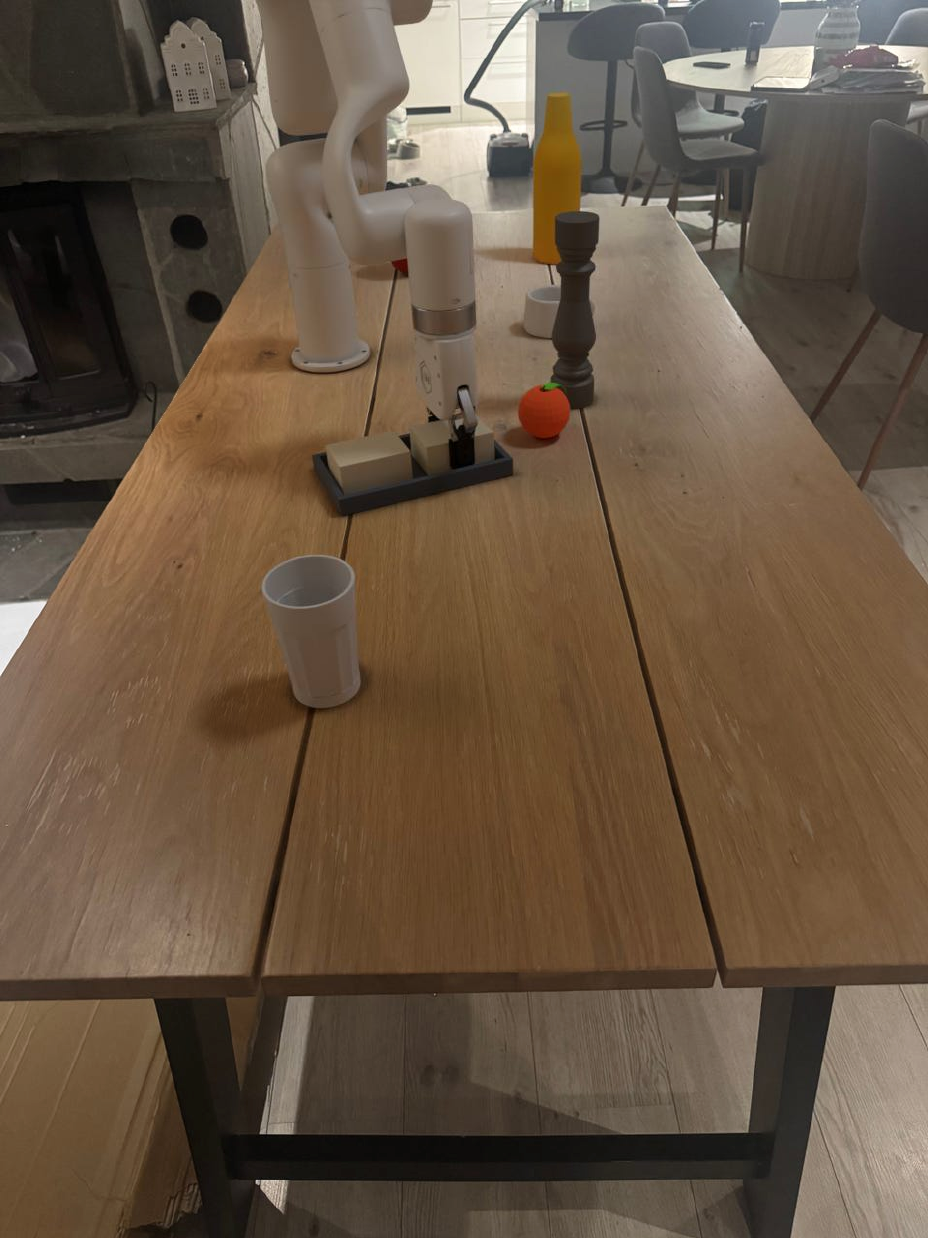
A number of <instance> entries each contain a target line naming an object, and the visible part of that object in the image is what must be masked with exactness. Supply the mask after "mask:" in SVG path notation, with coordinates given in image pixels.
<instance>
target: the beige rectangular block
mask: <svg viewBox="0 0 928 1238" xmlns="http://www.w3.org/2000/svg"><path fill="white" fill-rule="evenodd" d="M476 417H477V420H478V425H477V427H476V429H475V437H474V447H475V464H480V463H484V462H488V461H492V460H494V440H495V433H494V430H492V429H491V428H490V427H489V425H487V424H486V423H485V421H484V420H482V419H481V418H480V417H479V415H477V414H476ZM462 422H463V418H461V419H457V420H455V423H456V428H457V429H458V427H459V425H462V424H463V423H462ZM408 428H409V433H410V440H411V452H412V456H413V457H414V458H415V459H416V461H417V462H418V463H419V464H420V466H421V467H422V468H423V469H424V471H425V472H426V473H427V474H428V476H429V475H433V474H437V473H441V472H446V471H450V470H454V469H452V468H451V467H450V457H449V440H448V439H452V438H451V434H450V429H449V424H448V419H447V420H446V421H442V420H438V421H434V422H429V423H428V422H425V423H420V424H416V425H411V426H409V427H408ZM475 464H474V465H475ZM462 468H463V467H462Z"/></svg>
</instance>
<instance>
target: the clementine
mask: <svg viewBox="0 0 928 1238" xmlns="http://www.w3.org/2000/svg"><path fill="white" fill-rule="evenodd" d="M559 385H560V384H557V383H551V382H548V383H544V384H538V385H535V386H533V387H531V388H530V389H528V390H527V391H526V392H525V393H524V395H523V396H522V397H521V399H520V401H519V404H518V409H517V414H518V421H519V422H520V424H521V427H522V428H523V429H524V431H526V432H527V434H529V435H531V436H533V437H535V438H539V439H549V438H553V437H554V436H556V435H558V434H559V433H562V431H563V430H564V429H565V428H566V426H567V424H568V422H569V420H570V416H571V409H570V404H569V402H568V400H567V397H566V396H565V394H564V393H563V392H562V391H561V390H559V389H558V388H556V386H559ZM561 386H562V385H561ZM562 387H563V388H564V390H565V392H566V388H565V387H564V386H562ZM566 394H567V392H566Z"/></svg>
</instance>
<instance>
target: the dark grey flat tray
mask: <svg viewBox="0 0 928 1238" xmlns="http://www.w3.org/2000/svg"><path fill="white" fill-rule="evenodd" d="M398 436H399V438H400V439H401V440H402V441H403V443H404V444H405V445H406V446H407V448H408V449H409V450H410V452H411V440H410V432H409V433H405V434H402V435H401V434H400V435H398ZM311 458H312V465H313V471H314V473H315V474H316V476H317V478H318V479H319V481H320V483H321V484H322V487H323V488H324V489H325V491H326V493H327V494H328V497H329V498H330V500H331V501H332V503H333V505H334V506H335V508H336V510H337V511H338V513H339V515H340V516H341V517H344V516H348V515H352V514H358V513H361V512H365V511H369V510H373V509H377V508H381V507H385V506H390V505H394V504H398V503H402V502H403V503H404V502H407V501H409V500H416V499H420V498H424V497H428V496H431V495H436V494H440V493H443V492H447V491H452V490H456V489H459V488H460V489H461V488H465V487H468V486H472V485H477V484H481V483H485V482H488V481H493V480H497V479H501V478H506V477H510V476H513V475H514V458H513V456H511V455H510V454H509V452H507V451H506V450H505V449H504V448H503V446H501V445H500V444H499V443H498V441H496V439H494V460H492V461H488V462H484V463H480V464H475V465H471V466H467V467H463V468H458V469H454V470H450V471H446V472H441V473H437V474H433V475H429V476H428V474H427V473H426V472H425V471H424V469H423V468H422V467H421V466H420V464H419V463H418V462H417V461H416V459H415V458H414V457H413V456H412V452H411V464H412V475H413V479H412V480H407V481H403V482H399V483H395V484H390V485H386V486H382V487H378V488H373V489H369V490H365V491H361V492H356V493H352V494H348V495H344V496H343V494H342V492H341V491H340V489H339V487H338V486H337V484H336V483H335V481H334V479H333V478H332V476H331V474H330V472H329V465H328V459H327V452H326V451H323V452H319V453H314V454H312V455H311Z"/></svg>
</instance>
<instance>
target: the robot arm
mask: <svg viewBox="0 0 928 1238" xmlns="http://www.w3.org/2000/svg"><path fill="white" fill-rule="evenodd" d="M254 1H255V4H256V6H257V9H258V12H259V16H260V21H261V27H262V38H263V47H264V55H265V56H264V58H265V66H266V67H265V69H266V77H267V87H268V97H269V103H270V109H271V114H272V118H273V121H274V122H275V125H276V126H277V128H278V129H279V130H280V131H282V133H285V134H287V135H289V136H296V137H297V136H298V137H299V136H313V135H319V134H320V135H321V134H327V135H326V137H325V138H323V137H322V138H315V139H314V138H313V139H308V140H301V141H296V142H291V143H287V144H284V145H282V146H279V147H277V148H276V149H275V150H273V151H272V152H271V154H270V155H269V156H268V158H267V161H266V164H265V177H266V183H267V187H268V190H269V193H270V197H271V199H272V203H273V206H274V209H275V213H276V216H277V220H278V224H279V228H280V235H281V239H282V246H283V250H284V256H285V263H286V268H287V275H288V281H289V287H290V294H291V300H292V307H293V313H294V319H295V326H296V333H297V339H298V344H299V345H298V346H296V348H294V350H292V352H291V361H292V364H293V366H295V367H296V368H297V369H300V370H302V371H305V372H311V373H322V374H323V373H337V372H342V371H346V370H351V369H353V368H356V367H358V366H360V365H362V364H364V363H365V362H366V361H367V360H368V359H369V358H370V356H371V349H370V346H369V345H368V343H367V342H365V341H363V340H361V339H360V338H359V329H358V321H357V313H356V304H355V294H354V286H353V277H352V268H351V261H352V262H353V263H355V264H356V265H359V266H368V267H369V266H375V265H381V264H385V263H391V261H396V260H401V259H406V258H407V261H408V274H409V275H408V283H409V284H408V286H409V296H410V297H409V298H410V309H411V319H412V320H411V321H412V331H413V332H412V333H414V369H415V373H414V374H415V390H416V394H417V396H418V398H419V399H420V401H421V402H422V404H424V405H425V406H426V412H427V415H428V416H427V423H429V422H434V421H438V420H442V421H446V420H447V419H448V424H449V429H450V434H451V438H452V439H448V440H449V457H450V467H451V468H452V469H458V468H462V467H467V466H471V465H474V464H475V447H474V437H475V429H476V427H477V425H478V420H477V417H476V415H477V414H476V413H477V412H478V408H479V387H478V386H479V385H478V373H477V362H476V353H475V345H474V339H473V333H474V332H475V331H476V330H477V327H478V325H477V304H476V303H477V301H476V277H475V251H474V250H475V249H474V248H475V247H474V223H473V214H472V211H471V209H470V208H469V206H468V205H467V204H465V203H464V202H463V201H461V200H456V199H453V197H452V196H450V194H449V193H448V192H447V191H446V189H444V188H443V187H442V186H440V185H437V184H419V185H413V186H408V187H407V186H406V187H402V188H401V187H399V188H393V189H388V190H386V189H387V183H388V117H387V116H388V115H389V114H390V113H391V112H393V111H394V110H395V109H397V108H398V107H400V105H401V104H402V103H403V102H404V101H405V99H406V98H407V96H408V95H409V92H410V79H409V74H408V72H407V67H406V65H405V60H404V57H403V54H402V50H401V47H400V42H399V39H398V36H397V31H396V28H395V27H398V26H406V25H414V24H419V23H422V22H423V21H424V20H426V18H427V17H428V16H429V14H430V12H431V11H432V8H433V3H434V0H254ZM329 214H330V216H331V219H332V221H331V220H330V218H329V217H328V215H329ZM456 410H460V412H459V413H455V412H456ZM461 418H463V422H462V423H463V424H462V425H459V427H458V429H457V428H456V423H455V420H457V419H461Z"/></svg>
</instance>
